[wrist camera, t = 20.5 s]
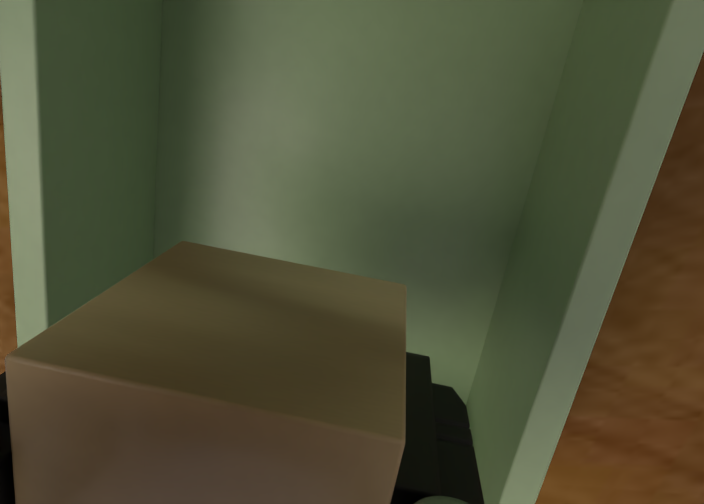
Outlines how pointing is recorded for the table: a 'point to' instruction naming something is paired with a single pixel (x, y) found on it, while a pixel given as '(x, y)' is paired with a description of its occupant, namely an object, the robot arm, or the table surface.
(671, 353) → the table surface
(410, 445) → the robot arm
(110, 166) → the green box
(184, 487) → the block
